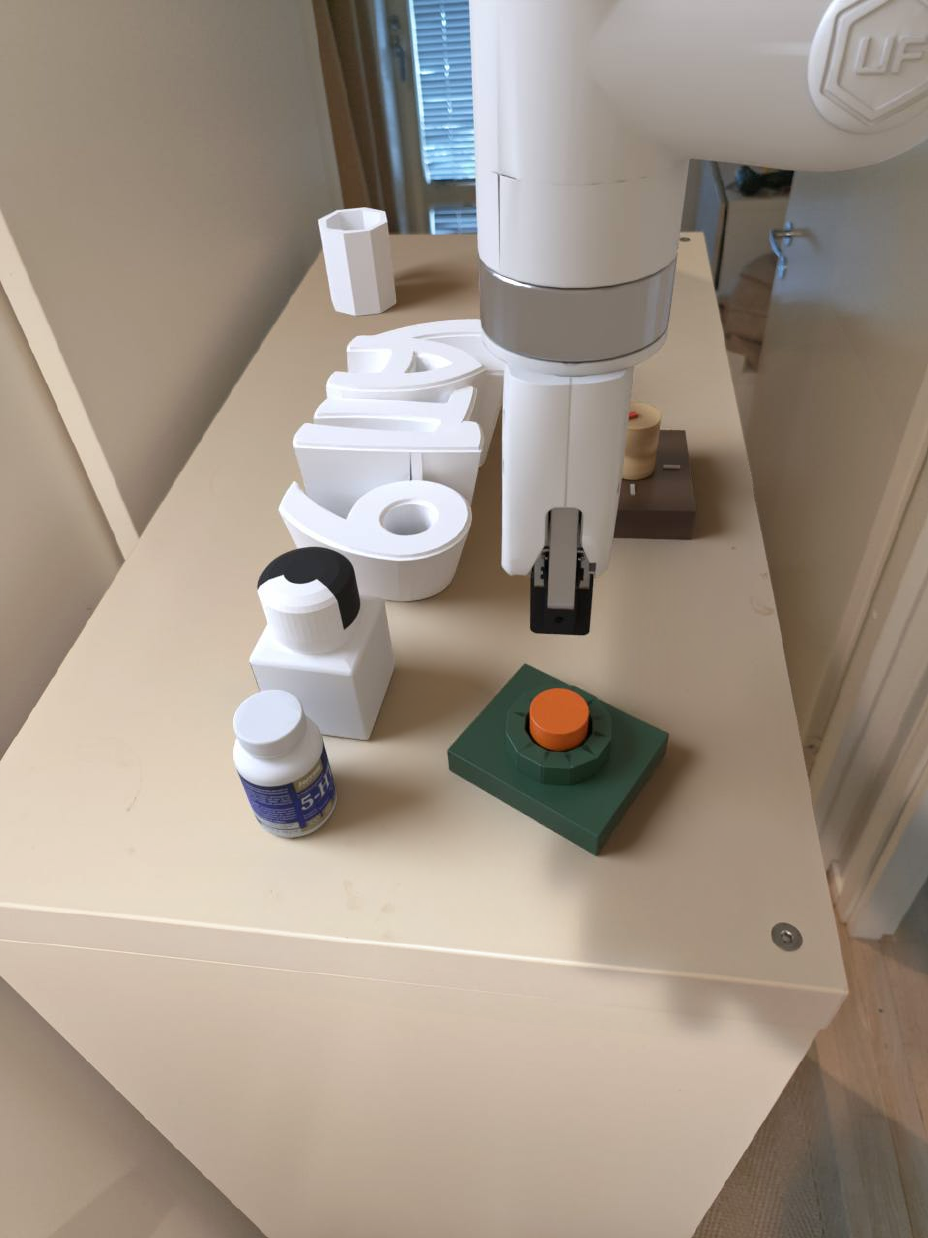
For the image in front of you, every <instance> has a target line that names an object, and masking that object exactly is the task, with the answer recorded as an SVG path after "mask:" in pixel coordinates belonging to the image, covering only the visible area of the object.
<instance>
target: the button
mask: <svg viewBox="0 0 928 1238" xmlns="http://www.w3.org/2000/svg"><path fill="white" fill-rule="evenodd" d="M588 720H589V708H588V705H587V703H586V701H585V700H584V699H583V698H582V697H581V696H580V695H579V694H577V693H576V692H574V691H571V690H568V689H562V688H554V689H549V690H546V691H543V692H542V693H540V694H539V695H537V696H536V697H535V698H534V700H533V701H532V703H531V706H530V733H531V735H532V737H533V739H534V740H535V741H536V742H537V743H538V744H539V745H541V746H542V747H544V748H546V749H549V750H553V751H566V750H570V749H573V748H575V747H577V746H578V745H580V744H581V743H582V742H583V741H584V739H585V738H586V736H587V732H588Z"/></svg>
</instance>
